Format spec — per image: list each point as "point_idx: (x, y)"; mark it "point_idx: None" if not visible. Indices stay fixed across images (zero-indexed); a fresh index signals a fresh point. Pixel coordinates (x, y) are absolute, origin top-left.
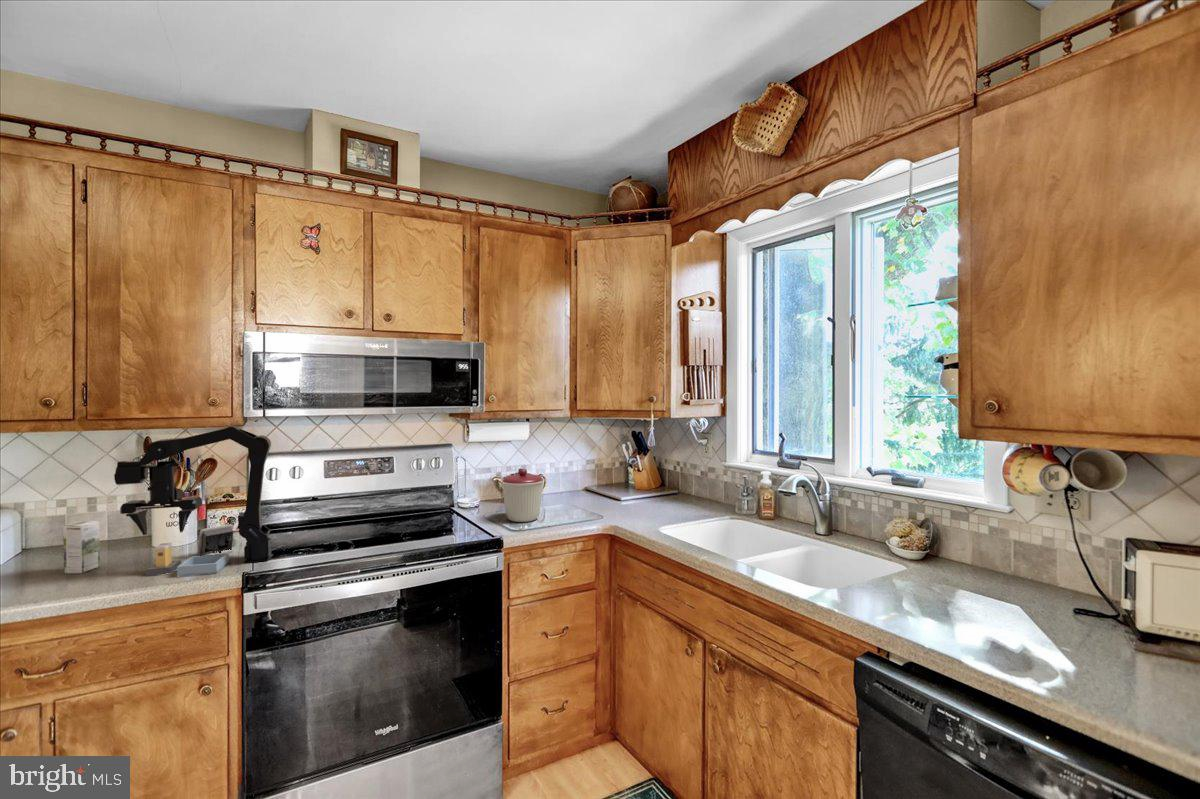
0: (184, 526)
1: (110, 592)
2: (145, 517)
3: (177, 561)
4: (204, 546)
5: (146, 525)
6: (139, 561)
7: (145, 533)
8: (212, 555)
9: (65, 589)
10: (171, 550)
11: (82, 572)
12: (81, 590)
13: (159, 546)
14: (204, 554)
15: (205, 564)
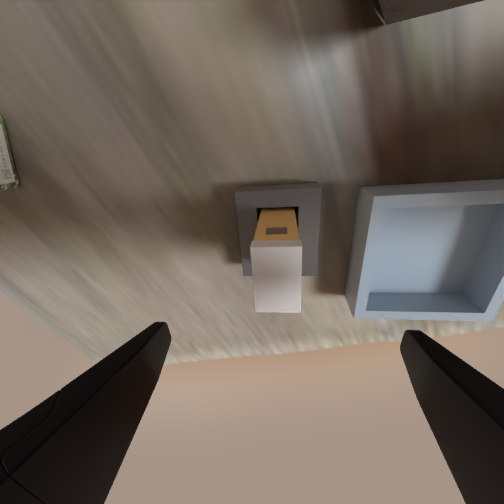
0: (462, 372)
1: (229, 350)
2: (24, 478)
3: (314, 207)
4: (424, 2)
5: (119, 376)
6: (90, 45)
7: (166, 342)
8: (474, 204)
9: (110, 307)
10: (297, 229)
11: (17, 186)
12: None
13: (269, 303)
14: (393, 19)
15: (450, 319)
